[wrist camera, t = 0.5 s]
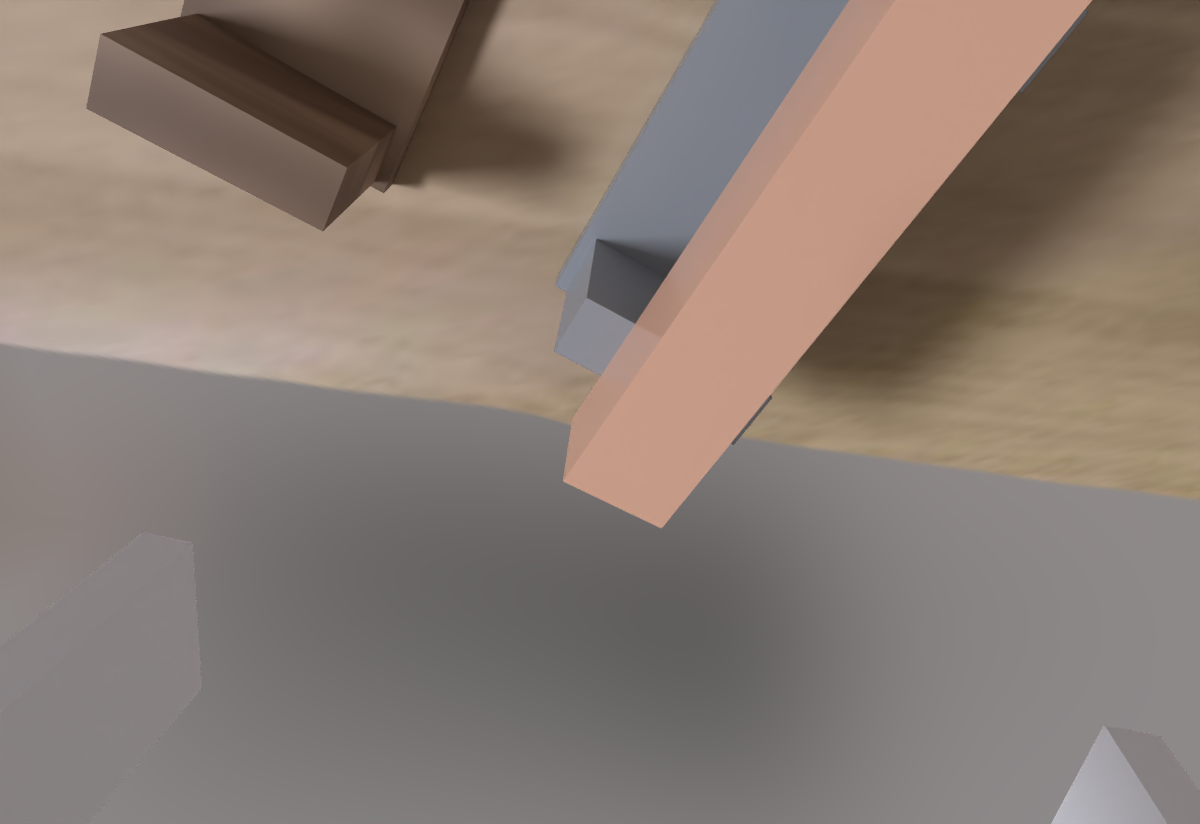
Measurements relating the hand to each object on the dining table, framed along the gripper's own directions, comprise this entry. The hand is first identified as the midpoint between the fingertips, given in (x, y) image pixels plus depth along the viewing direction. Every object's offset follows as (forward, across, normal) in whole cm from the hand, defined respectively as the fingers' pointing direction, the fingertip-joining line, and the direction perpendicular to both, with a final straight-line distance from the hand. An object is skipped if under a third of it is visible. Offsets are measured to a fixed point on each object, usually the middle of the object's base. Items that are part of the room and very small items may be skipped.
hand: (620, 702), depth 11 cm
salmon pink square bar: (+18, +3, +5) cm, 19 cm away
